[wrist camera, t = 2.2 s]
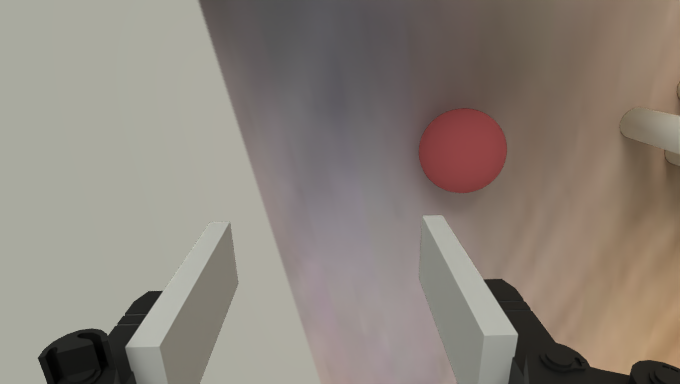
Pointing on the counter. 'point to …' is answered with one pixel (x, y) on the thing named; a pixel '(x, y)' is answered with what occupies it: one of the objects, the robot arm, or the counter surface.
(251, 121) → the counter surface
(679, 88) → the pin
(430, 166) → the ball
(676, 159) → the pin
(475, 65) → the counter surface
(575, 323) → the counter surface
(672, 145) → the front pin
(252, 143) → the counter surface
